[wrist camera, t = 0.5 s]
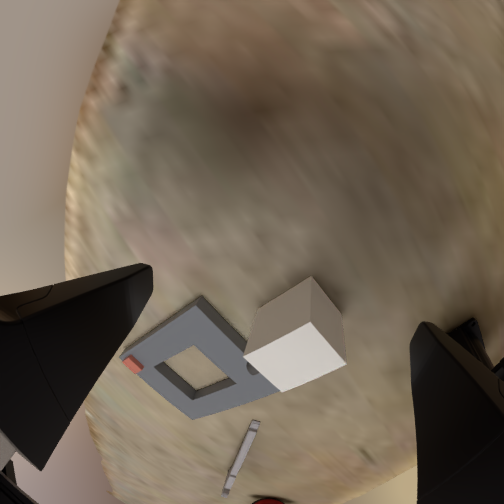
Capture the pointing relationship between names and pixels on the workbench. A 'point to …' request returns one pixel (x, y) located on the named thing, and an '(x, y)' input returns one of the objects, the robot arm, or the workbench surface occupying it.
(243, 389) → the socket
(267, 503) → the headphones
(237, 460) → the caliper
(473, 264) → the workbench surface
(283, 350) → the plug
